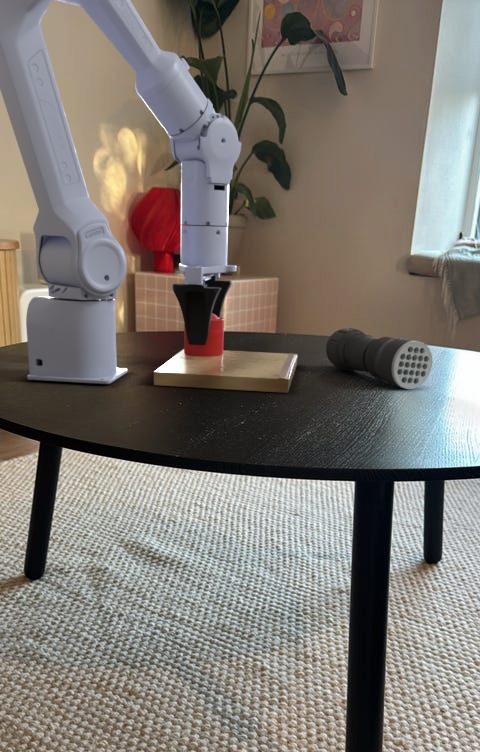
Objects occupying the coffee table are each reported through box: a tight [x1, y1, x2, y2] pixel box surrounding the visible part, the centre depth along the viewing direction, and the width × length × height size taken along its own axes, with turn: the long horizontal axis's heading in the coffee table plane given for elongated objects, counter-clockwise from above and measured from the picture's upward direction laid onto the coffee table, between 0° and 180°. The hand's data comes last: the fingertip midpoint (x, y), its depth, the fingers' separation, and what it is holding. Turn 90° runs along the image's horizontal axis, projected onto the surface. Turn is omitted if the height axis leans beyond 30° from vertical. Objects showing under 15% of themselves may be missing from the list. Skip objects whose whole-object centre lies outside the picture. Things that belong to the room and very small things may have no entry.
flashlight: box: [325, 327, 433, 390], centre depth 92 cm, size 15×5×5 cm, turn 26°
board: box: [153, 348, 298, 394], centre depth 91 cm, size 15×18×2 cm
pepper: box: [183, 313, 225, 356], centre depth 95 cm, size 5×5×6 cm
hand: (202, 340), depth 96 cm, fingers open, 7 cm apart
